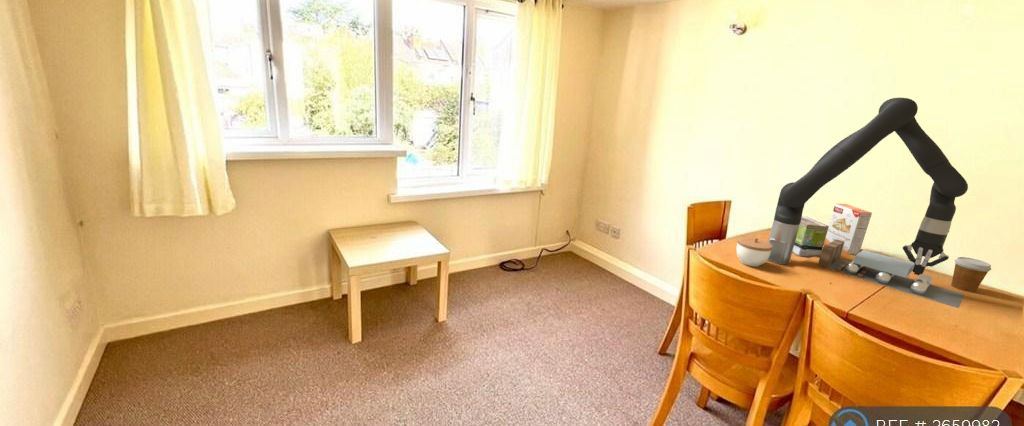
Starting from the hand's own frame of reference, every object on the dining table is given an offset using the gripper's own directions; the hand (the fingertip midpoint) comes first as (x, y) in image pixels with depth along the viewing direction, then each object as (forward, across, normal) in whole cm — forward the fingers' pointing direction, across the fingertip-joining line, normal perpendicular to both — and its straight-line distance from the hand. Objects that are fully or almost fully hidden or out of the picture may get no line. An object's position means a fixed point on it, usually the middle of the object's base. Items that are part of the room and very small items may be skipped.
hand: (917, 274), depth 157 cm
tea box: (+6, -40, +7) cm, 41 cm away
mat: (+6, -6, 0) cm, 9 cm away
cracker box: (+6, -29, +26) cm, 39 cm away
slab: (+1, -10, 0) cm, 10 cm away
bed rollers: (+5, -3, 0) cm, 6 cm away
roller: (+5, -18, 0) cm, 19 cm away
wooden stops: (+6, -21, 0) cm, 22 cm away
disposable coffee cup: (+6, +12, +17) cm, 22 cm away
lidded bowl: (+6, -46, -30) cm, 55 cm away
